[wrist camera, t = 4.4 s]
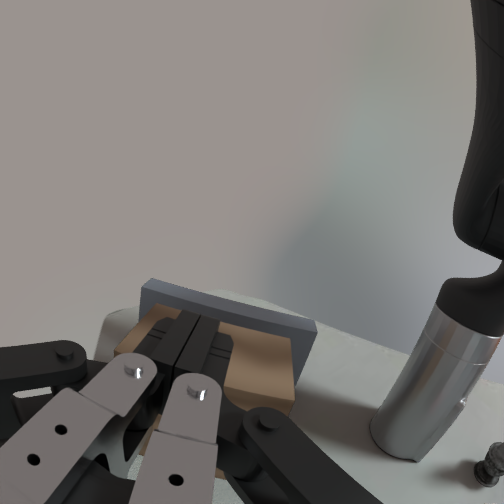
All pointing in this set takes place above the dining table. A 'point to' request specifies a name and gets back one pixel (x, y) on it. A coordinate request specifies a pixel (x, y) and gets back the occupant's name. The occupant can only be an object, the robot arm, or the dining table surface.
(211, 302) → the slate board
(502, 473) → the dark grey figurine
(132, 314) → the dining table surface
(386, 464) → the dining table surface
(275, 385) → the walnut block
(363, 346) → the dining table surface
